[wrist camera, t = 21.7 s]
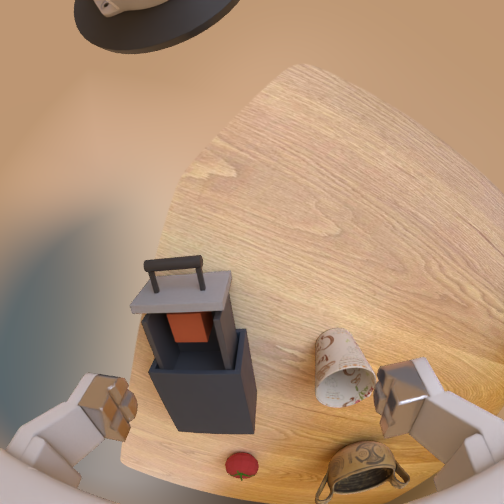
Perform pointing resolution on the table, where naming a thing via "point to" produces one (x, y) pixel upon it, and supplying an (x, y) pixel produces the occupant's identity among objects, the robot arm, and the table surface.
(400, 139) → the table surface
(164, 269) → the drawer
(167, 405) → the cabinet
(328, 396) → the mug
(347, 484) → the ceramic bowl
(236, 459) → the tomato
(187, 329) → the block
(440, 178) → the table surface
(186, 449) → the table surface
